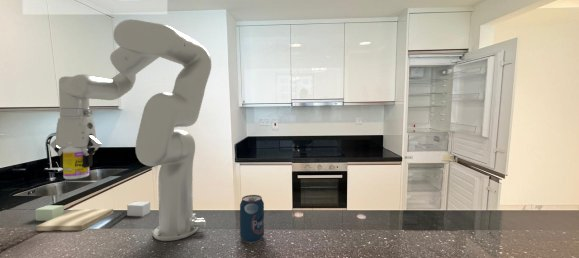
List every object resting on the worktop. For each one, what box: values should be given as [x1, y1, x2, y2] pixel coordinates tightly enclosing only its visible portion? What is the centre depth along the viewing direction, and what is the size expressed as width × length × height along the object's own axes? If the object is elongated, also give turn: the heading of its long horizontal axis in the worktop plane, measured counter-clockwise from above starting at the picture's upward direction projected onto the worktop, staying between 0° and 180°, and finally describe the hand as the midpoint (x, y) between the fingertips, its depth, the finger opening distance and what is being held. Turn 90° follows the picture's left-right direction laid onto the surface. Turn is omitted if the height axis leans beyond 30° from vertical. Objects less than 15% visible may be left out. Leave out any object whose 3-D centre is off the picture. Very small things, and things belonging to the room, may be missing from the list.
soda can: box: [239, 194, 265, 244], centre depth 70 cm, size 7×7×12 cm
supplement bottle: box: [62, 142, 90, 180], centre depth 81 cm, size 7×7×13 cm
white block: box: [126, 201, 151, 217], centre depth 88 cm, size 6×4×4 cm, turn 84°
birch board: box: [35, 208, 114, 232], centre depth 82 cm, size 14×14×2 cm
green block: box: [35, 204, 65, 222], centre depth 84 cm, size 6×4×4 cm, turn 88°
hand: (76, 166), depth 81 cm, fingers closed on supplement bottle, 6 cm apart
